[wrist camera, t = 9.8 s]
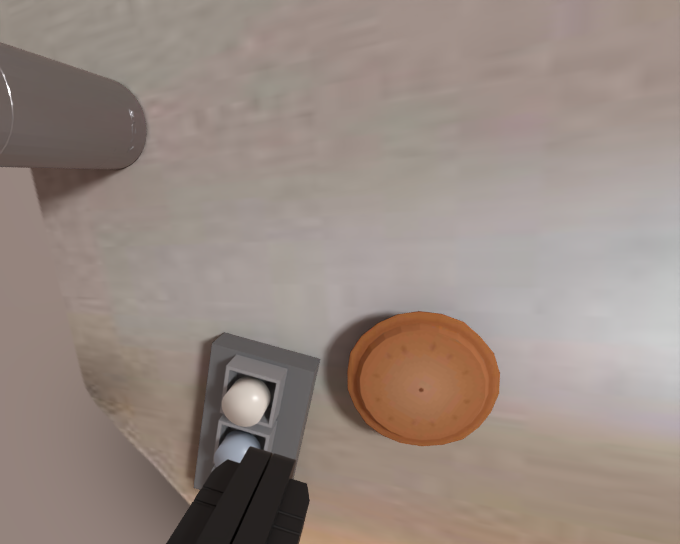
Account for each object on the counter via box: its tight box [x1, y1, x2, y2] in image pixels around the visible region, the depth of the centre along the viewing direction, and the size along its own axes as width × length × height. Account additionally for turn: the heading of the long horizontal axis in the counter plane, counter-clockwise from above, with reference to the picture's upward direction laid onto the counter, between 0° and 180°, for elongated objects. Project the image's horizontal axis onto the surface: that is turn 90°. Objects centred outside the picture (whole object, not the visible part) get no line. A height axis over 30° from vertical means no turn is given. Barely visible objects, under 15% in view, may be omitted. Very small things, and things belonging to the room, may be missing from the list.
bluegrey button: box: [214, 430, 261, 467], centre depth 40 cm, size 4×4×2 cm
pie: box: [347, 311, 500, 446], centre depth 39 cm, size 16×16×5 cm
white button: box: [222, 376, 271, 427], centre depth 38 cm, size 4×4×2 cm
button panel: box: [194, 333, 320, 490], centre depth 44 cm, size 12×21×6 cm, turn 168°
